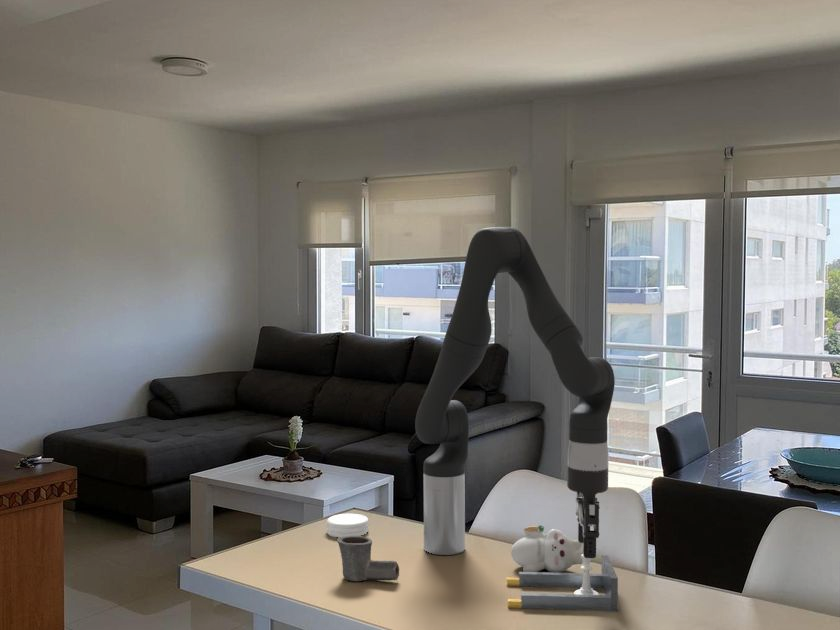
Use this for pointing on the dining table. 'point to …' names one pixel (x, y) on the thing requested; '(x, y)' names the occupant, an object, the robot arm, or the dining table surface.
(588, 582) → the chess piece
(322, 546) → the dining table surface
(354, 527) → the round white light
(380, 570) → the pipe
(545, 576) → the bracket
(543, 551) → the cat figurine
